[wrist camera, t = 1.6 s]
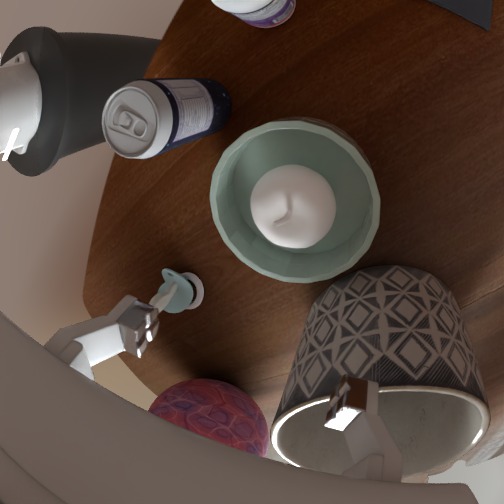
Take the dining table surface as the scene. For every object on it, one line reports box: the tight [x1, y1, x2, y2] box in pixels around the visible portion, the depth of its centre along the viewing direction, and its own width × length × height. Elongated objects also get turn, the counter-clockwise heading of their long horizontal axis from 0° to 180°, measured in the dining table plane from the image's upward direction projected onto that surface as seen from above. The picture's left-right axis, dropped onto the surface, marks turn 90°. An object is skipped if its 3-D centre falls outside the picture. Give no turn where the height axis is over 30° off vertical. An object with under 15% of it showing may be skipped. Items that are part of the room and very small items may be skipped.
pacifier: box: [149, 268, 204, 313], centre depth 37 cm, size 7×6×6 cm
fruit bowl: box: [209, 116, 381, 283], centre depth 26 cm, size 14×14×5 cm
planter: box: [270, 265, 491, 479], centre depth 26 cm, size 19×19×16 cm
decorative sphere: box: [148, 379, 269, 457], centre depth 41 cm, size 20×20×20 cm
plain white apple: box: [250, 164, 336, 248], centre depth 25 cm, size 7×7×8 cm
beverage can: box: [102, 78, 231, 159], centre depth 22 cm, size 6×6×12 cm
